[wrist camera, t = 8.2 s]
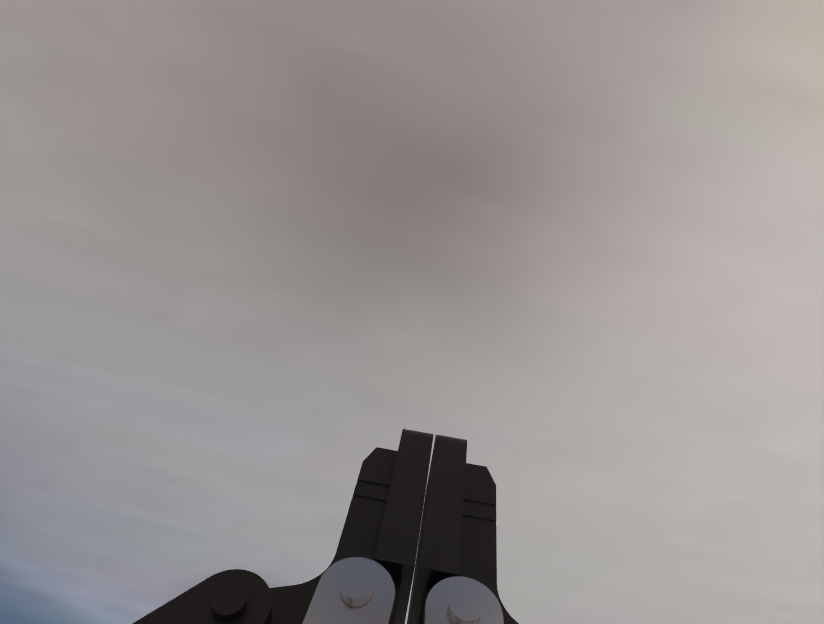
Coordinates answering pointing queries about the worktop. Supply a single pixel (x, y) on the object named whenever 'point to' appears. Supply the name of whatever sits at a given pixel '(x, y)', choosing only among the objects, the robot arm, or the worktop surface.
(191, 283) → the worktop surface
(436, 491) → the robot arm
